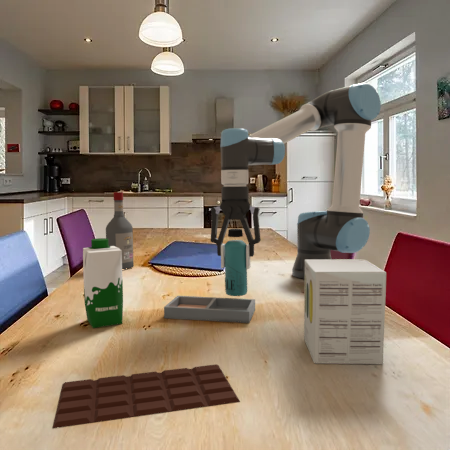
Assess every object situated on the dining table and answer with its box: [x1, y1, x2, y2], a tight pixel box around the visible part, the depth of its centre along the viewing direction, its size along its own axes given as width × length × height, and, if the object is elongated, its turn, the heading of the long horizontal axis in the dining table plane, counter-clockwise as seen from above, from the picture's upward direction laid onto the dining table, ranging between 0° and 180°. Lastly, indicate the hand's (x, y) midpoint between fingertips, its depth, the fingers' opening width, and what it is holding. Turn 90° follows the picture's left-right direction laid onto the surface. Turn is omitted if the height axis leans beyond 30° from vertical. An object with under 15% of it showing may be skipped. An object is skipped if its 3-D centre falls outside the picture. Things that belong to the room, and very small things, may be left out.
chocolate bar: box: [52, 363, 241, 429], centre depth 70 cm, size 27×14×1 cm, turn 105°
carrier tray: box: [163, 295, 256, 324], centre depth 111 cm, size 21×11×3 cm, turn 79°
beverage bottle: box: [224, 228, 249, 297], centre depth 122 cm, size 6×7×20 cm
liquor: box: [105, 191, 135, 269], centre depth 170 cm, size 9×9×30 cm
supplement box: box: [303, 258, 387, 365], centre depth 86 cm, size 13×13×18 cm
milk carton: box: [82, 237, 124, 329], centre depth 104 cm, size 9×9×20 cm
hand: (235, 267), depth 122 cm, fingers closed on beverage bottle, 6 cm apart
